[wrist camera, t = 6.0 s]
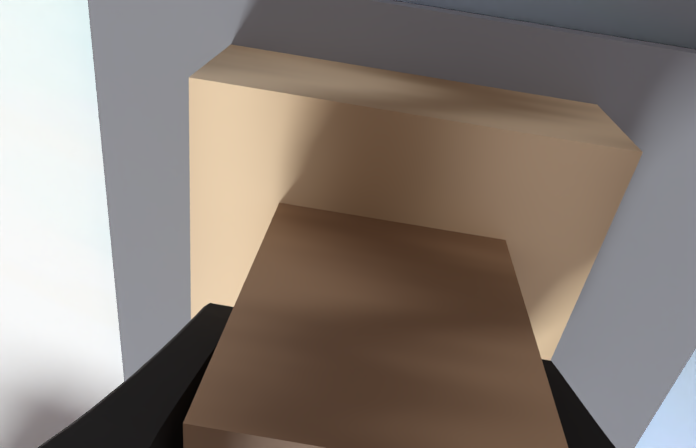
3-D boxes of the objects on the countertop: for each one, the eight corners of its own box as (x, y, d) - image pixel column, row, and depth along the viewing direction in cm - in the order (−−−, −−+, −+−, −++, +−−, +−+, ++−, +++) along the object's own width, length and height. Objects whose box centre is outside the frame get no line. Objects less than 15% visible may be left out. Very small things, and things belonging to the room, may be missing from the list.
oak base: (596, 104, 13) (642, 152, 11) (495, 371, 18) (510, 449, 15) (231, 44, 13) (188, 77, 11) (222, 324, 18) (191, 395, 15)
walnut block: (505, 240, 12) (580, 490, 7) (452, 400, 14) (478, 673, 9) (279, 202, 12) (182, 423, 7) (265, 368, 15) (187, 621, 9)
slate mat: (843, 73, 13) (861, 80, 13) (616, 453, 20) (622, 468, 20) (96, -48, 13) (83, -47, 13) (131, 370, 20) (124, 382, 20)
